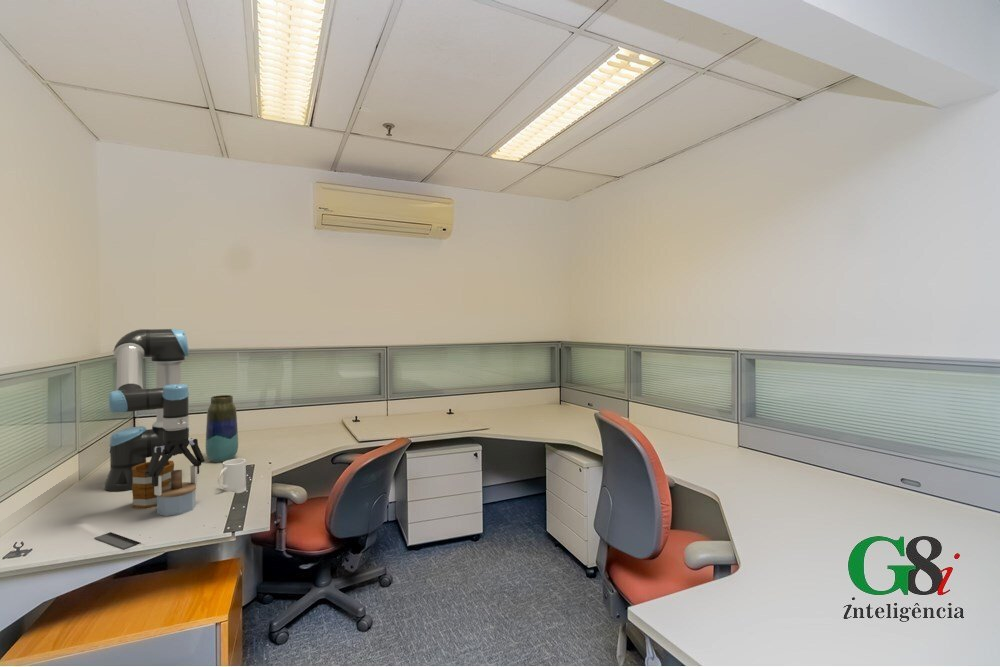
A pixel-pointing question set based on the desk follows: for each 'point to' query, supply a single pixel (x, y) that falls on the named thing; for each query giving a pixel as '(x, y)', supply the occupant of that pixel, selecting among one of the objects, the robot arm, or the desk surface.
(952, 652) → the desk surface
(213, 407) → the vase
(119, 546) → the mat
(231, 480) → the mug
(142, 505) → the mug
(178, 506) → the bowl
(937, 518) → the desk surface
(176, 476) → the lid
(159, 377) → the robot arm
